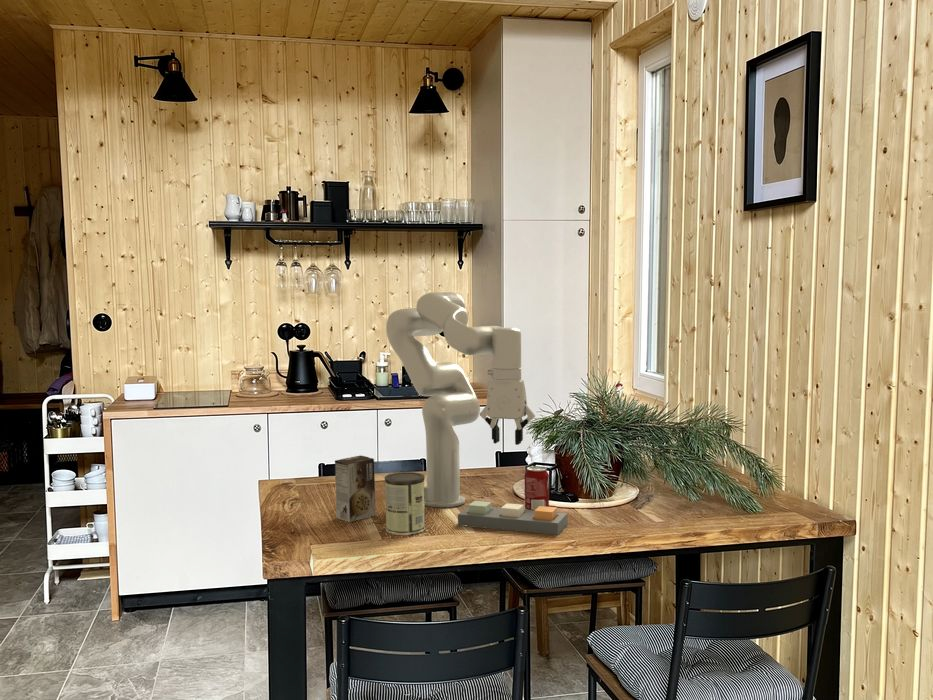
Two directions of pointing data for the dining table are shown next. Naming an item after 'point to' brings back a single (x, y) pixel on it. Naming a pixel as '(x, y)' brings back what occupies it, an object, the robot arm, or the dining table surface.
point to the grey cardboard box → (355, 488)
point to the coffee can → (405, 503)
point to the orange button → (545, 513)
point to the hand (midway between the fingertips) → (507, 442)
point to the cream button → (512, 510)
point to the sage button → (480, 507)
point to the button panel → (513, 521)
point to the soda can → (536, 487)
